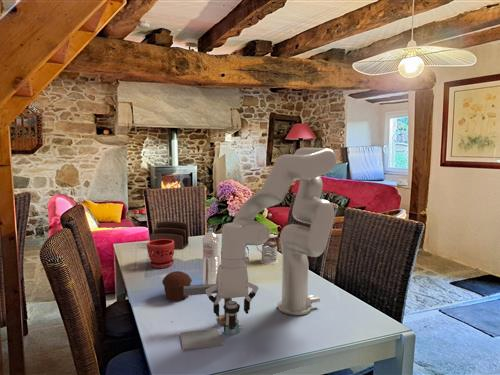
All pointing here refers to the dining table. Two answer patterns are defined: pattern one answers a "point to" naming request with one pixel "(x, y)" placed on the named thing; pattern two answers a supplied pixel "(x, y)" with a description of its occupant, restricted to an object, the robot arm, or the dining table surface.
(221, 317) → the post
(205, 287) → the steel strap
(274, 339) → the dining table surface
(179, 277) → the muffin
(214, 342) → the rubber mat
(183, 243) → the letter holder
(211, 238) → the water bottle
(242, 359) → the dining table surface
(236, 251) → the robot arm
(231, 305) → the push button
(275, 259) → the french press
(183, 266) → the dining table surface
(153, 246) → the plant pot
